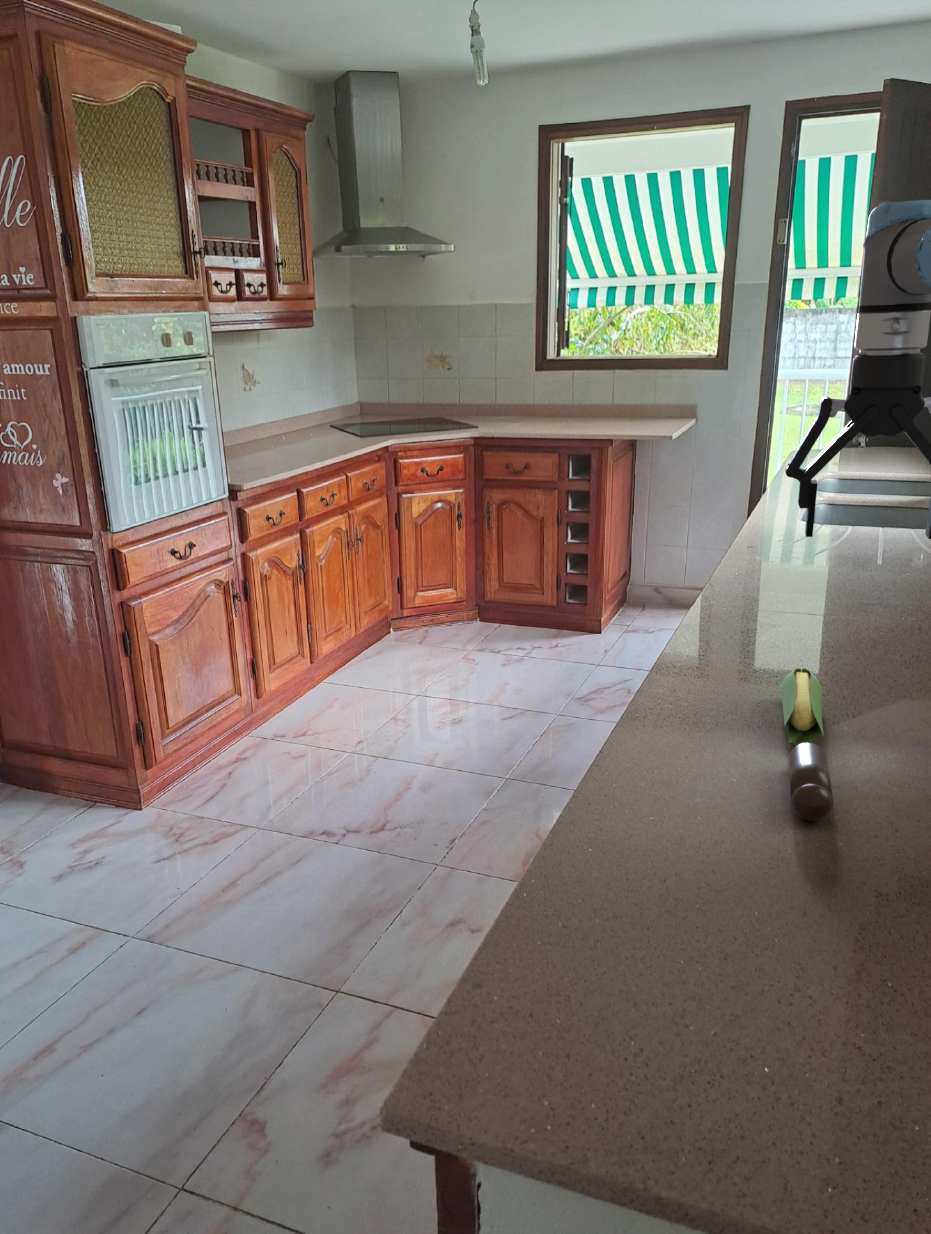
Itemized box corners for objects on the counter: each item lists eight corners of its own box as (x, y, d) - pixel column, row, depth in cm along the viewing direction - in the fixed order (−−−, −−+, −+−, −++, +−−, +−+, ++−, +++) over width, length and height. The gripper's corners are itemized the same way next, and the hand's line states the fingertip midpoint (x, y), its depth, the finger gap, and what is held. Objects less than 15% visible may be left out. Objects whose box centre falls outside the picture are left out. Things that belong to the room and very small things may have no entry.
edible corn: (819, 697, 130) (822, 665, 128) (826, 759, 112) (829, 723, 111) (778, 694, 132) (781, 662, 130) (778, 755, 114) (781, 719, 112)
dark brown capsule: (786, 767, 111) (789, 735, 109) (824, 770, 110) (827, 738, 108) (790, 826, 98) (793, 790, 97) (832, 830, 97) (836, 794, 96)
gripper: (774, 357, 111) (760, 540, 119) (1021, 349, 103) (990, 544, 111) (773, 354, 118) (760, 527, 125) (1006, 346, 110) (977, 530, 118)
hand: (868, 535), depth 118 cm, fingers open, 13 cm apart
